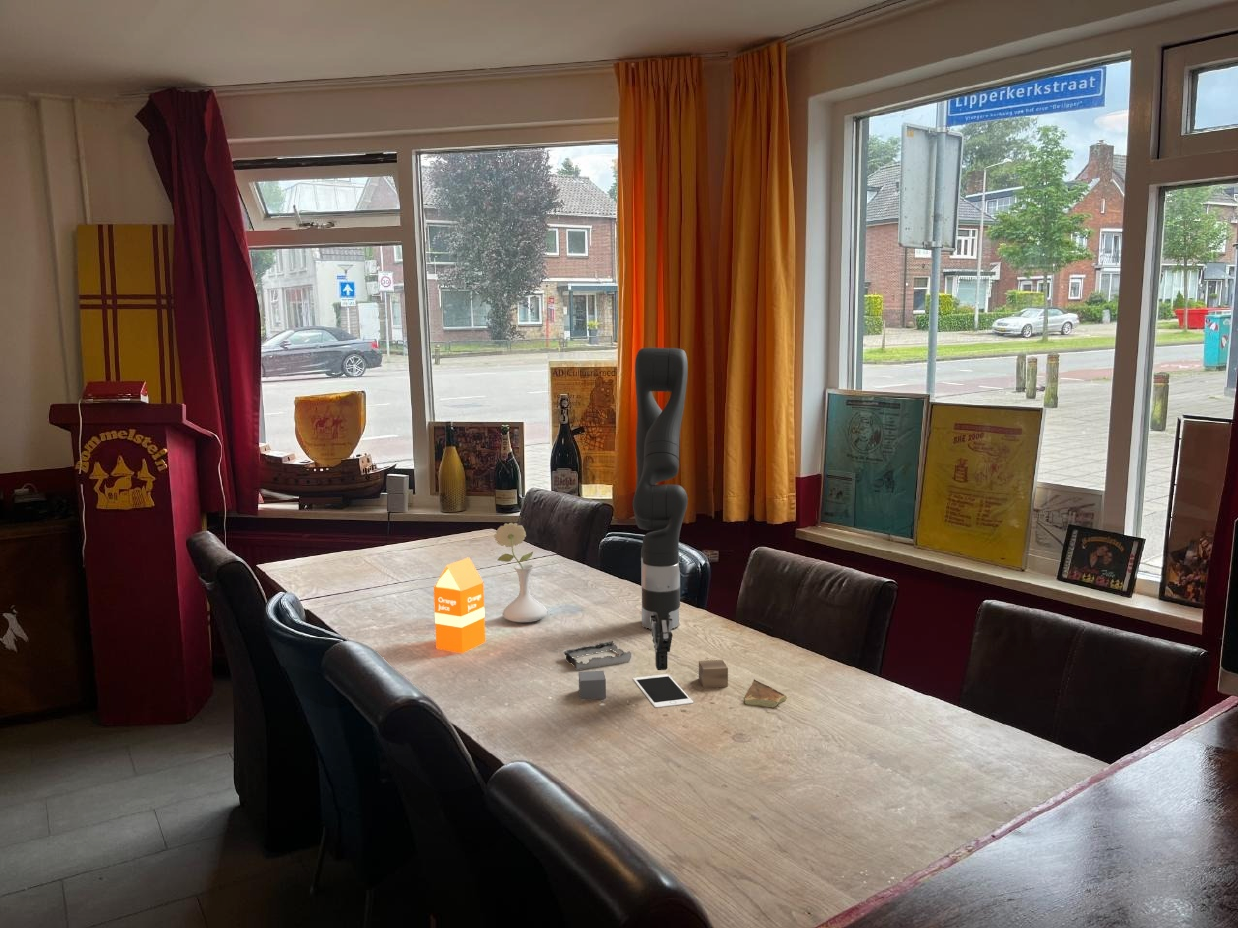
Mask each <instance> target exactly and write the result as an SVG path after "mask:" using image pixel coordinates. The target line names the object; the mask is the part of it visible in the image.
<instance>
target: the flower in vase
mask: <svg viewBox="0 0 1238 928" xmlns="http://www.w3.org/2000/svg"><path fill="white" fill-rule="evenodd" d="M493 537H494V539H495V541H496V544H498V545H499V546H502V547H504V546H505V548H511V554H510V553H504V554H503V553H502V554H501V555H500V556H499V557H498V558H497V561H499V562H500V561H501V562H504V563H505V562H507V563H509V562H511V561H512V560H513V559H515V561H516V562H517V563H518V564H517V565H514V566H513V569H514V570H515V571H516V573H517V576H518V581H519V592H518V595H517V597H516V598H515V599H514V600H512V601H511V602H510V603H509V604H508V605H507V606H506V607H505V608H504V609H503V611H502V614H501V615H502V616H503V618H504V619H505V620H507V621H509V622H513V623H533V622H536V621H540V620H541V619H544V618H545V617H546V616H547V614H548V610H547V608H546V607H545V606H544V604H543V603H541V602H539V601H538V600H537V599H535V598H534V597H533V596H532V595H531V592H530V588H529V587H530V586H529V584H530V574H531V572H532V569H534V565H533V564H529V563H528V564H527V563H525V564H524V563H521V562H525V561H528V560H529V559H531V557H532V555H533V554H534V551H532V552H531V551H530V552H529V553H526V554H524V555H522V556H521V558H520V559H518V558H517V556H516V555H515V552H514V546H515V547H517V546H518V545H520V544H522V543H524V540H525V539H526V537H527V532H526V530H525V528H524V526H523V525H521V524H520V525H518V523H517V522H515V523H513V522H509V523H504V524H503V525H500V526H499V527H498V528H497V530H496V531H495V534H494V536H493Z"/></svg>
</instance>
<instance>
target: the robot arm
mask: <svg viewBox="0 0 1238 928" xmlns="http://www.w3.org/2000/svg"><path fill="white" fill-rule="evenodd" d="M688 370H689V365H688V357H687V353H686V351H685V350H684V349H682V348H677V347H643V348H640V349H639V350H638V351H637V353H636V357H635V362H634V375H635V376H634V380H635V395H636V414H637V415H636V432H635V433H636V435H635V441H636V442H635V443H636V444H635V455H636V456H635V457H636V458H635V461H636V485H635V493H634V495H633V498H632V499H633V500H632V508H633V509H632V510H633V512H634V520H635V525H636V526H637V528H638V529H640V530H644V531H649V532H647V533H646V534H645V535H644V536H643V538H642V546H641V549H640V561H641V562H640V563H641V565H640V568H641V571H640V572H641V575H640V576H641V578H640V579H641V580H640V581H641V626H642V625H643V626H644V627H646V628H645V629H647V628H649V629H648V630H651V629H652V630H651V637H652V642H653V643H652V644H653V648H654V651H655V653H654V654H655V667H656V670H657V671H667V670H668V653H670V652H671V647H672V641H673V640H672V639H673V637H674V636H673V633H672V630H673V629H672V628H674V629H676V628H675V627H677V626H678V625H679V626H680V606H681V572H680V571H681V570H680V554H679V553H680V551H679V550H680V549H679V547H680V545H679V543H680V542H679V541H680V534H681V528H682V526H683V525H682V524H683V521H684V519H685V514H686V512H687V508H688V503H689V502H688V501H689V500H688V499H689V498H688V494H687V493H688V492H687V491H686V490H685V488H684V487H683V486H681V485H679V484H658V483H660V482H665V481H669V480H671V479H674V478H675V477H676V476H677V475H678V473H679V468H680V440H681V439H680V438H681V436H680V435H681V428H682V421H683V416H684V409H685V402H686V394H687V386H688V385H687V384H688V374H689V373H688V372H689V371H688ZM653 392H666V393H670V396H669V399H668V401H667V403H666V404H665V407H664V408H663V409H661V407H660V406H659V404H658V403H657V401H656V399H655V398H654V394H653ZM643 626H642V627H643ZM679 626H678V627H679ZM644 627H643V628H644ZM678 627H677V628H678Z"/></svg>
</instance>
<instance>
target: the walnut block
mask: <svg viewBox="0 0 1238 928" xmlns="http://www.w3.org/2000/svg"><path fill="white" fill-rule="evenodd" d="M698 680H699V682H700V684H701V685H702V688H704V689H707V688H723V687H724V688H727V687H729V668H728V666H727V665H726V662H724V660H723V659H711V660H710V659H709V660H698Z"/></svg>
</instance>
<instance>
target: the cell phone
mask: <svg viewBox="0 0 1238 928" xmlns="http://www.w3.org/2000/svg"><path fill="white" fill-rule="evenodd" d="M632 681H633V682H634V683H635V684H636V685H637V686H638V688H639V689H640V691H641V692H642V693H643V694H644V695H645V697H646V699H648V700H649V702H650V703H651V705H652V706H653V708H655V709H659V708H669V707H676V706H678V707H679V706H684V705H685V706H686V705H691V704H694V700H692V698H691V697H689V695H688V694H687V693H686V692H685V691H684V690H683V689H682V687H680V685H679V684H678V683H677V681H675V679H673V677H672V676H671V675H670V674H669V673H664V674H654V675H646V676H638V677H633V678H632Z"/></svg>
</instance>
